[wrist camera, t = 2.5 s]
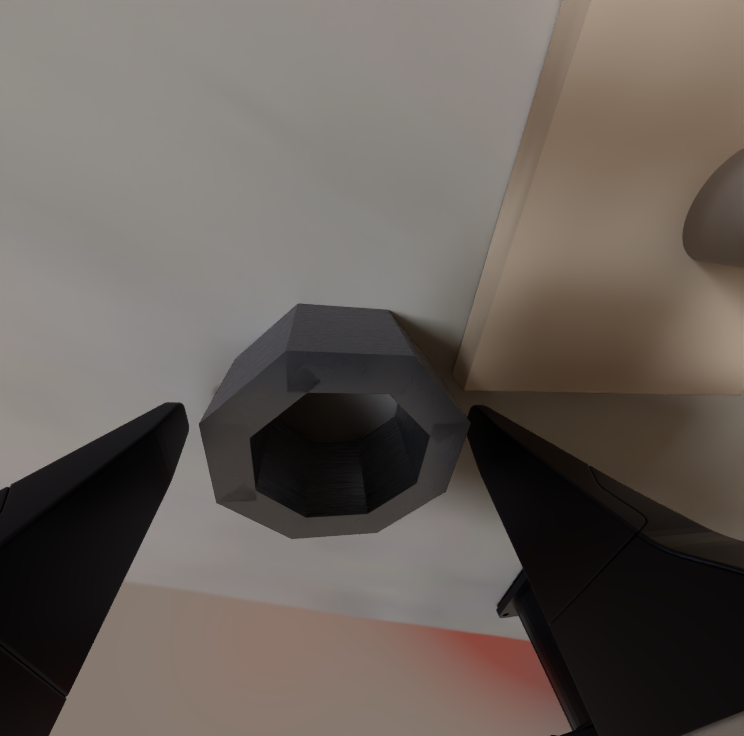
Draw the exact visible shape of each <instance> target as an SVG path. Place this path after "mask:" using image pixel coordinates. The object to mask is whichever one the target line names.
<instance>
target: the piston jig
mask: <svg viewBox="0 0 744 736" xmlns="http://www.w3.org/2000/svg"><path fill="white" fill-rule="evenodd" d="M452 375H453V376H454V378H455V379H456V381H457V382H458V383H459V385H460V386H461V387H462V389H463V390H464V391H516V392H569V393H623V394H676V395H730V396H740V395H741V394H742V393H743V392H744V0H562V3H561V6H560V10H559V13H558V17H557V20H556V23H555V27H554V30H553V34H552V37H551V40H550V44H549V47H548V51H547V54H546V57H545V61H544V64H543V68H542V71H541V74H540V78H539V81H538V85H537V88H536V91H535V95H534V98H533V102H532V105H531V108H530V112H529V115H528V119H527V122H526V125H525V129H524V132H523V136H522V139H521V142H520V146H519V149H518V153H517V156H516V159H515V163H514V166H513V170H512V173H511V176H510V180H509V183H508V187H507V190H506V193H505V197H504V200H503V204H502V207H501V210H500V214H499V217H498V221H497V224H496V228H495V231H494V234H493V238H492V241H491V245H490V248H489V251H488V255H487V258H486V262H485V265H484V268H483V272H482V275H481V279H480V282H479V285H478V289H477V292H476V296H475V299H474V302H473V306H472V309H471V313H470V316H469V319H468V323H467V326H466V330H465V333H464V336H463V340H462V343H461V347H460V350H459V353H458V357H457V360H456V364H455V367H454V370H453V374H452Z"/></svg>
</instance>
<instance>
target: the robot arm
mask: <svg viewBox="0 0 744 736" xmlns="http://www.w3.org/2000/svg"><path fill="white" fill-rule="evenodd" d="M467 418H468V420H469V421H470V423H471V424H470V426H469V429H468V432H467V437H468V440H469V443H470V446H471V449H472V452H473V455H474V458H475V461H476V464H477V467H478V469H479V472H480V474H481V477H482V479H483V481H484V483H485V485H486V488H487V490H488V492H489V494H490V496H491V499H492V501H493V503H494V505H495V507H496V510H497V512H498V514H499V516H500V518H501V521H502V523H503V525H504V527H505V529H506V532H507V534H508V536H509V538H510V541H511V543H512V545H513V547H514V549H515V552H516V554H517V556H518V558H519V560H520V563H521V565H522V567H523V569H524V571H523V572H522V574H521V575H520V576H519V578H518V579H517V581H516V582H515V584H514V585H513V586H512V588H511V589H510V591H509V592H508V594H507V595H506V596H505V598H504V599H503V601H502V602H501V603H500V605H499V606H498V608H497V609H496V611H497V613H498V615H499V617H500V618H506V617H513V616H519V618H520V620H521V622H522V624H523V626H524V628H525V630H526V633H527V635H528V637H529V639H530V641H531V643H532V645H533V648H534V650H535V652H536V654H537V656H538V658H539V660H540V663H541V664H542V667H543V669H544V671H545V673H546V675H547V677H548V680H549V682H550V684H551V686H552V688H553V690H554V692H555V695H556V697H557V699H558V701H559V703H560V705H561V707H562V710H563V712H564V714H565V716H566V718H567V720H568V722H569V724H570V727H571V729H572V732H569V733H566V734H563V735H560V736H744V541H740V540H736V539H733V538H730V537H727V536H724V535H722V534H719V533H717V532H714V531H712V530H710V529H708V528H706V527H704V526H702V525H700V524H698V523H696V522H694V521H692V520H690V519H688V518H686V517H685V516H683V515H681V514H679V513H677V512H675V511H673V510H671V509H669V508H667V507H665V506H663V505H661V504H659V503H657V502H656V501H654V500H652V499H650V498H648V497H646V496H644V495H642V494H640V493H638V492H636V491H635V490H633V489H631V488H629V487H627V486H625V485H623V484H622V483H620V482H618V481H616V480H614V479H613V478H611V477H609V476H607V475H605V474H604V473H602V472H600V471H598V470H597V469H595V468H593V467H591V466H588V464H586V463H584V462H583V461H581V460H579V459H577V458H576V457H574V456H572V455H570V454H569V453H567V452H565V451H563V450H562V449H560V448H558V447H556V446H555V445H553V444H551V443H550V442H548V441H546V440H544V439H543V438H541V437H539V436H537V435H536V434H534V433H532V432H530V431H529V430H527V429H525V428H523V427H522V426H520V425H518V424H516V423H515V422H513V421H511V420H509V419H508V418H506V417H504V416H503V415H501V414H499V413H497V412H496V411H494V410H492V409H490V408H489V407H487V406H485V405H473V406H472V407H471V408H470V411H469V414H468V417H467ZM188 432H189V423H188V419H187V415H186V411H185V407H184V405H183V404H182V403H176V402H167V403H164V404H162V405H160V406H158V407H156V408H154V409H152V410H151V411H149V412H147V413H145V414H143V415H141V416H139V417H137V418H136V419H134V420H132V421H130V422H128V423H126V424H124V425H122V426H120V427H119V428H117V429H115V430H113V431H111V432H109V433H107V434H105V435H104V436H102V437H100V438H98V439H96V440H94V441H92V442H90V443H88V444H87V445H85V446H83V447H81V448H79V449H77V450H75V451H73V452H71V453H70V454H68V455H66V456H64V457H62V458H60V459H58V460H56V461H55V462H53V463H51V464H49V465H47V466H45V467H43V468H41V469H39V470H38V471H36V472H34V473H32V474H30V475H28V476H26V477H24V478H22V479H21V480H19V481H17V482H15V483H13V484H11V486H10V487H5V488H3V489H2V490H0V736H49V734H50V732H51V730H52V728H53V726H54V724H55V722H56V720H57V717H58V715H59V714H60V711H61V709H62V707H63V705H64V703H65V701H66V696H67V695H68V694H69V692H70V690H71V688H72V686H73V684H74V682H75V680H76V678H77V676H78V674H79V672H80V669H81V667H82V665H83V663H84V661H85V659H86V657H87V655H88V653H89V651H90V649H91V646H92V644H93V643H94V640H95V638H96V636H97V634H98V632H99V630H100V628H101V626H102V624H103V622H104V620H105V618H106V616H107V614H108V612H109V609H110V607H111V605H112V603H113V601H114V599H115V597H116V595H117V593H118V591H119V589H120V587H121V585H122V583H123V580H124V578H125V576H126V574H127V572H128V570H129V568H130V566H131V564H132V562H133V560H134V558H135V556H136V554H137V551H138V549H139V547H140V545H141V543H142V541H143V539H144V537H145V535H146V533H147V531H148V529H149V527H150V525H151V523H152V520H153V518H154V516H155V514H156V512H157V510H158V508H159V506H160V504H161V502H162V500H163V498H164V496H165V494H166V491H167V489H168V487H169V485H170V483H171V481H172V478H173V475H174V473H175V470H176V467H177V464H178V461H179V458H180V455H181V452H182V449H183V447H184V444H185V441H186V438H187V435H188ZM551 736H556V735H551Z"/></svg>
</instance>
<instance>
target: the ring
mask: <svg viewBox="0 0 744 736" xmlns="http://www.w3.org/2000/svg"><path fill="white" fill-rule="evenodd" d="M306 393H356V394H389V395H390V396H391V397H392V398H393V399H394V400H395V401H396V402H397V403H398V404H397V409H396V414H395V417H394V418H392V419H391V420H390V421H388V422H387V423H385V424H384V425H382V426H381V427H380V428H378V429H377V430H375V431H374V432H372V433H371V434H369V435H368V436H367V437H365V438H364V439H362V440H361V441H359V442H358V443H309V442H308V441H306V440H305V439H303V438H302V437H301V436H299V435H298V434H296V433H295V432H294V431H292V430H291V429H289V428H288V427H287V426H285V425H284V424H282V423H281V422H280V421H278V420H277V419H276V417H277V416H278V415H279V414H281V413H282V412H283V411H285V410H286V409H287V408H288V407H290V406H291V405H292V404H293V403H295V402H296V401H297V400H299V399H300V398H301V397H302V396H304V395H305V394H306ZM470 424H471V423H470V421H469V420H468V418H467V417H466V415H465V414H464V412H463V411H462V409H461V408H460V406H459V405H458V403H457V402H456V400H455V399H454V397H453V396H452V394H451V392H450V391H449V389H448V388H447V386H446V385H445V383H444V382H443V380H442V379H441V377H440V376H439V374H438V373H437V371H436V370H435V368H434V367H433V365H432V364H431V363H430V362H429V360H428V359H427V358H426V357H425V355H424V354H423V353H422V352H421V350H420V349H419V348H418V347H417V345H416V344H415V343H414V342H413V340H412V339H411V338H410V337H409V335H408V334H407V333H406V332H405V331H404V329H403V328H402V327H401V326H400V324H399V323H398V322H397V321H396V319H395V318H394V317H393V316H392V314H391V313H390V312H389V311H388V310H380V309H366V308H352V307H337V306H323V305H308V304H297V305H296V306H295V307H294V308H293V309H291V310H290V311H289V312H288V313H287V314H286V315H285V316H283V317H282V318H281V319H280V320H279V321H278V322H277V323H276V324H274V325H273V326H272V327H271V328H270V329H269V330H268V331H266V332H265V333H264V334H263V335H262V336H261V337H260V338H259V339H257V340H256V341H255V342H254V343H253V344H252V345H251V346H250V347H248V348H247V349H246V350H245V351H244V352H243V353H242V354H240V355H239V356H238V357H237V358H236V359H235V360H234V362H233V364H232V366H231V367H230V369H229V371H228V373H227V375H226V376H225V378H224V380H223V382H222V383H221V385H220V387H219V389H218V391H217V392H216V394H215V396H214V398H213V400H212V401H211V403H210V405H209V407H208V409H207V410H206V412H205V414H204V416H203V418H202V419H201V421H200V423H199V427H200V432H201V436H202V441H203V445H204V450H205V454H206V459H207V463H208V467H209V472H210V476H211V481H212V485H213V490H214V494H215V499H216V503H218V504H220V505H222V506H224V507H226V508H228V509H231V510H233V511H235V512H237V513H239V514H241V515H243V516H245V517H247V518H249V519H251V520H253V521H256V522H258V523H260V524H262V525H264V526H266V527H268V528H270V529H272V530H274V531H276V532H278V533H280V534H283V535H285V536H287V537H289V538H291V539H297V538H311V537H325V536H338V535H352V534H366V533H377V532H379V531H381V530H382V529H384V528H386V527H387V526H389V525H391V524H392V523H394V522H396V521H397V520H399V519H401V518H402V517H404V516H406V515H407V514H409V513H411V512H412V511H414V510H416V509H417V508H419V507H421V506H422V505H424V504H426V503H427V502H429V501H431V500H432V499H434V498H436V497H437V496H439V495H441V494H442V493H444V492H446V490H447V487H448V484H449V481H450V479H451V476H452V473H453V470H454V468H455V465H456V462H457V459H458V457H459V454H460V451H461V448H462V446H463V443H464V440H465V437H466V435H467V432H468V429H469V426H470Z"/></svg>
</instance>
